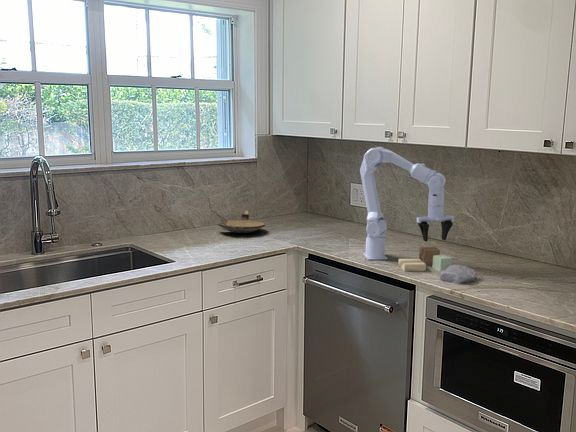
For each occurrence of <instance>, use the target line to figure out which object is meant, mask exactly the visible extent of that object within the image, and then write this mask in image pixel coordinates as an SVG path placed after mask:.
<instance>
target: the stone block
mask: <svg viewBox="0 0 576 432" xmlns="http://www.w3.org/2000/svg"><path fill="white" fill-rule="evenodd" d="M476 276H477V272H476V271H475V269H472V268H470V267H468V266H467V265H466V266H465V265H462V264H452V265H451V266H449V267H448V268H447V269H446V270H442V271H441V272H440V276H439V278H440V280H441V281H442V282H449V283H453V284H457V285H459V284H465V283H469V282H472V281H473V282H474V281H475V279H476Z"/></svg>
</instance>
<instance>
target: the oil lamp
mask: <svg viewBox="0 0 576 432" xmlns="http://www.w3.org/2000/svg"><path fill="white" fill-rule="evenodd" d="M249 215H250V214H249V210H245V211H244V213H241V219H235V220H234V219H230V220H229V219H227V220H225V221H224V222H223V224H221V223H219V222H217V226H219V227H220V228H222V229H224V230H225V231H228V232H231V233H235V234H250V233H254V232H256V231H258V230H261V229H262V228H264V227H266V223H264V222H261V221H257V220H249Z"/></svg>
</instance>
